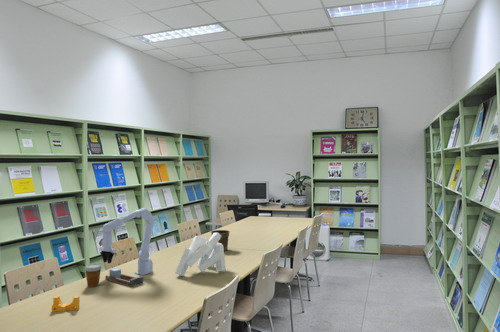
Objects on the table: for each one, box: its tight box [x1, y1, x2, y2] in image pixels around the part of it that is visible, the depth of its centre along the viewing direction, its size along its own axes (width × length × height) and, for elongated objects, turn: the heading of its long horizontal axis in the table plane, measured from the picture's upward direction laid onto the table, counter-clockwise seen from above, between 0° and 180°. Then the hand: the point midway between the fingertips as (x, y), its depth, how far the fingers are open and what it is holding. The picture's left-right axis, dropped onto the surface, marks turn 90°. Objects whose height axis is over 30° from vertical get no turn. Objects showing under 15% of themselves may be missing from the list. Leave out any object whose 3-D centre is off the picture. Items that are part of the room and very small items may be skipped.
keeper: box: [109, 268, 122, 279], centre depth 247 cm, size 5×5×6 cm
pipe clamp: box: [51, 295, 80, 313], centre depth 195 cm, size 12×4×6 cm, turn 93°
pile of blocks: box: [174, 232, 227, 277], centre depth 263 cm, size 35×30×35 cm
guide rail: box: [104, 273, 144, 287], centre depth 242 cm, size 9×25×4 cm, turn 57°
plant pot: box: [210, 229, 231, 252], centre depth 330 cm, size 16×16×16 cm
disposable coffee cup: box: [84, 263, 102, 288], centre depth 234 cm, size 10×10×12 cm
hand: (107, 262), depth 251 cm, fingers open, 4 cm apart
